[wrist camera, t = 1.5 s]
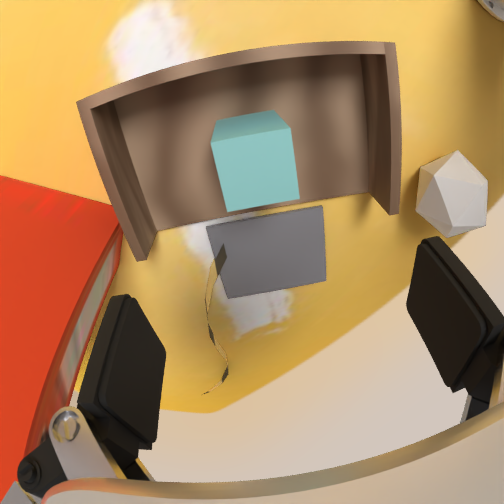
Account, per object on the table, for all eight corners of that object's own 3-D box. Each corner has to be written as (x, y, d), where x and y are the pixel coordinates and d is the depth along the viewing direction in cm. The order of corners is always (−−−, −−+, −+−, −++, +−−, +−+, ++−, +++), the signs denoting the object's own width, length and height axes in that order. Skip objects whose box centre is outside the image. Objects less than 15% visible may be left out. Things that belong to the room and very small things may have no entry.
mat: (321, 205, 30) (322, 207, 30) (325, 278, 36) (326, 280, 36) (206, 226, 31) (206, 228, 31) (227, 296, 37) (228, 298, 36)
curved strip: (270, 244, 34) (276, 265, 31) (212, 404, 55) (213, 420, 51) (216, 235, 32) (216, 256, 29) (181, 401, 53) (181, 418, 50)
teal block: (273, 109, 24) (290, 128, 18) (282, 162, 27) (299, 198, 20) (216, 120, 24) (210, 142, 18) (228, 172, 27) (227, 212, 21)
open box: (365, 44, 21) (394, 42, 16) (374, 188, 30) (398, 213, 25) (103, 93, 22) (76, 101, 18) (149, 229, 31) (136, 261, 26)
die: (393, 208, 32) (453, 266, 27) (404, 161, 24) (484, 231, 20) (430, 171, 32) (486, 221, 28) (445, 123, 25) (515, 181, 20)
